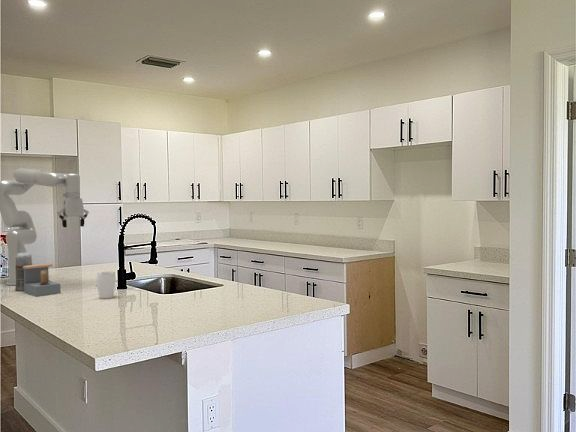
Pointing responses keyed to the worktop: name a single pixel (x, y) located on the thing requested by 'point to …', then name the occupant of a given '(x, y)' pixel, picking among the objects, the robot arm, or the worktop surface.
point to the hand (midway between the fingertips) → (73, 226)
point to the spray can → (21, 269)
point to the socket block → (38, 281)
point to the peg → (44, 277)
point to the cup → (106, 284)
